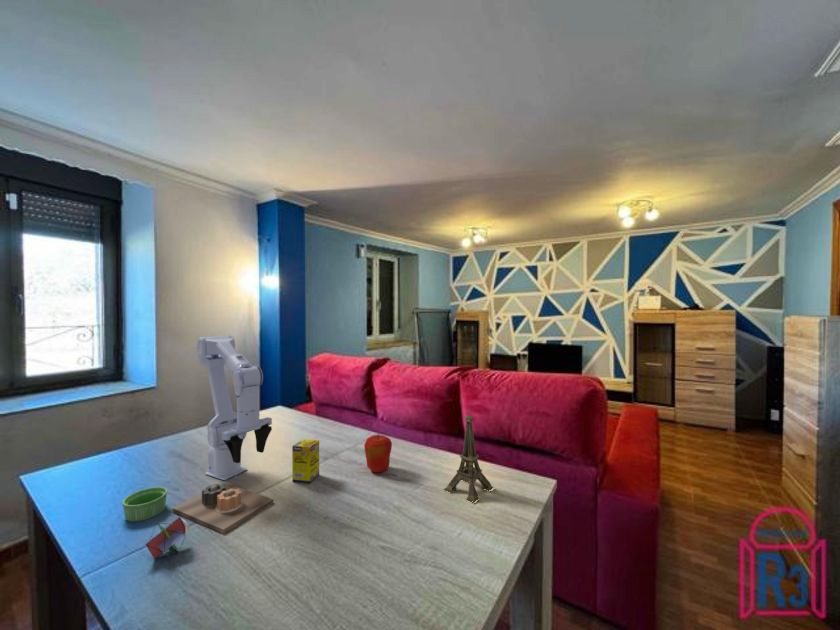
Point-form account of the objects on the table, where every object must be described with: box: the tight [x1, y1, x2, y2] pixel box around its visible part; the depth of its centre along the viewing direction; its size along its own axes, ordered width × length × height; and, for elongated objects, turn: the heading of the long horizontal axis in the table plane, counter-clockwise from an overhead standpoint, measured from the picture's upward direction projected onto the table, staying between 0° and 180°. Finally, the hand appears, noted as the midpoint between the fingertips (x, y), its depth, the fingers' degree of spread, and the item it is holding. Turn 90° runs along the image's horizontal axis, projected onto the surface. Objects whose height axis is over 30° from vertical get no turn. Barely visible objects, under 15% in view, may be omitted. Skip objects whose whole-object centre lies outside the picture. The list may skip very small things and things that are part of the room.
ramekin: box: [122, 486, 169, 522], centre depth 88 cm, size 9×9×4 cm
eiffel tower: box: [442, 407, 494, 505], centre depth 98 cm, size 11×11×25 cm
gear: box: [217, 489, 241, 512], centre depth 89 cm, size 5×5×3 cm
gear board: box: [171, 482, 274, 535], centre depth 90 cm, size 20×14×4 cm
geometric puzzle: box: [145, 516, 191, 560], centre depth 73 cm, size 7×7×8 cm
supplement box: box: [291, 438, 320, 484], centre depth 105 cm, size 6×6×11 cm
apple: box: [363, 434, 393, 474], centre depth 110 cm, size 9×8×12 cm
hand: (248, 456), depth 98 cm, fingers open, 7 cm apart
